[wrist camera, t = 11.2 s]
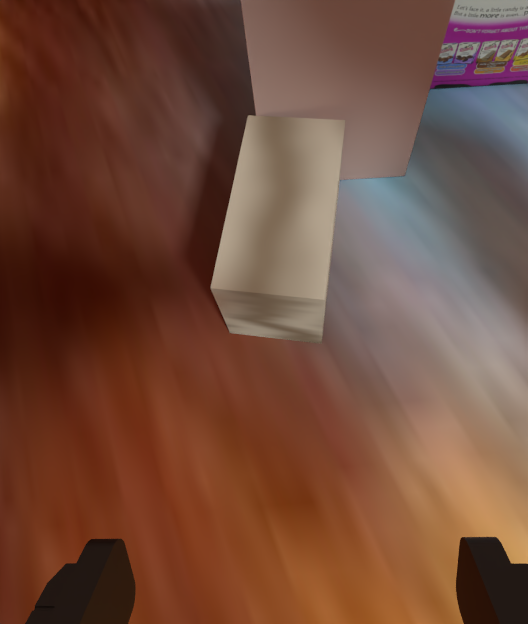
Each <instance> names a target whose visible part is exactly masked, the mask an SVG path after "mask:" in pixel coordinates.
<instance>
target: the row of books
mask: <svg viewBox="0 0 528 624" xmlns="http://www.w3.org/2000/svg"><path fill="white" fill-rule="evenodd" d="M454 3H455V0H241V5H242V13H243V21H244V28H245V36H246V43H247V51H248V58H249V66H250V73H251V81H252V88H253V96H254V103H255V111H256V116H272V117H292V118H313V119H334V120H345V129H344V140H343V150H342V161H341V171H340V180H347V179H364V178H380V177H396V176H405V173H406V169H407V166H408V163H409V159H410V156H411V152H412V149H413V145H414V142H415V138H416V135H417V131H418V128H419V124H420V121H421V117H422V114H423V110H424V107H425V104H426V100H427V97H428V93H429V90H430V86H431V83H432V79H433V76H434V72H435V69H436V65H437V62H438V58H439V55H440V52H441V48H442V45H443V41H444V38H445V34H446V31H447V27H448V24H449V20H450V17H451V13H452V10H453V6H454Z"/></svg>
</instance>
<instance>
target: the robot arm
mask: <svg viewBox="0 0 528 624" xmlns="http://www.w3.org/2000/svg"><path fill="white" fill-rule="evenodd" d="M456 592H457V600H458V605H459V609H460V613H461V616H462V619H463V622H464V624H528V564H511V563H510V561H509V558H508V556H507V554H506V552H505V550H504V548H503V546H502V544H501V542H500V541H499V540H498V538H496V537H462V538H461V540H460V546H459V557H458V567H457V578H456ZM134 601H135V580H134V576H133V573H132V569H131V565H130V561H129V558H128V554H127V550H126V547H125V543H124V541H123V540H122V539H91V540H90V541H88V543H87V544H86V546H85V547H84V549H83V551H82V553H81V555H80V557H79V559H78V561H77V563H73V564H65V565H64V566H63V567H62V568H61V570H60V571H59V572H58V573H57V574H56V575H55V576H54V577H53V578H52V579H51V580H50V581H49V582H48V583H47V585H46V587H45V588H44V590H43V592H42V594H41V596H40V598H39V600H38V601H37V603H36V605H35V610H34V611H32V612H31V614H30V616H29V618H28V620H27V622H26V623H25V624H128V622H129V619H130V616H131V613H132V610H133V606H134Z"/></svg>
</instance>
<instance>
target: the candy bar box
mask: <svg viewBox="0 0 528 624" xmlns="http://www.w3.org/2000/svg"><path fill="white" fill-rule="evenodd" d="M523 83H528V0H455V3H454V6H453V10H452V13H451V17H450V20H449V24H448V27H447V31H446V34H445V38H444V41H443V45H442V48H441V52H440V55H439V58H438V62H437V65H436V69H435V72H434V76H433V79H432V83H431V86H430V89H437V88H454V87H472V86H489V85H505V84H523Z"/></svg>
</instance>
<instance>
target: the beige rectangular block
mask: <svg viewBox="0 0 528 624" xmlns="http://www.w3.org/2000/svg"><path fill="white" fill-rule="evenodd" d="M344 129H345V120H334V119H313V118H292V117H272V116H251V115H248V118H247V122H246V127H245V131H244V136H243V141H242V145H241V150H240V154H239V159H238V164H237V168H236V173H235V177H234V182H233V187H232V191H231V196H230V200H229V205H228V209H227V214H226V219H225V223H224V228H223V232H222V237H221V242H220V246H219V251H218V255H217V260H216V264H215V269H214V274H213V278H212V283H211V287H210V288H211V291H212V293H213V295H214V298H215V300H216V302H217V304H218V307H219V309H220V311H221V313H222V316H223V318H224V320H225V323H226V325H227V327H228V329H229V332H230V333H235V334H244V335H252V336H261V337H270V338H278V339H287V340H296V341H304V342H313V343H322V334H323V325H324V317H325V308H326V299H327V290H328V281H329V272H330V263H331V254H332V245H333V236H334V227H335V218H336V210H337V201H338V192H339V181H340V171H341V161H342V150H343V140H344Z"/></svg>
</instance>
